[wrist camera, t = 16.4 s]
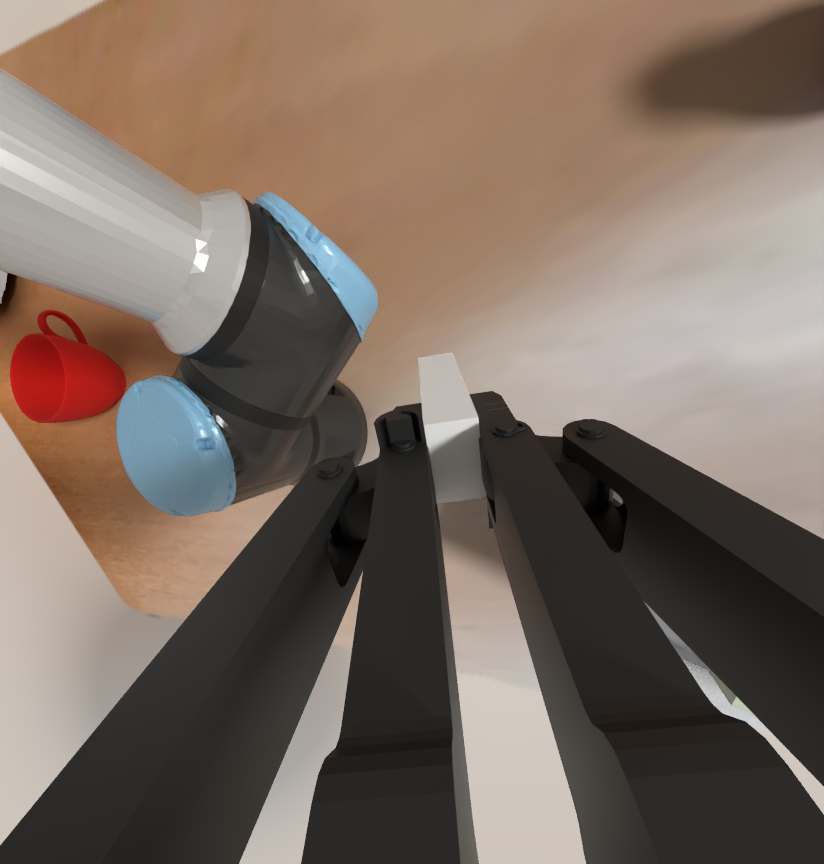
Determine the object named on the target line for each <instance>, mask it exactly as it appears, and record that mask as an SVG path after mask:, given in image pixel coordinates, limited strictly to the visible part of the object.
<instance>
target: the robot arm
mask: <svg viewBox="0 0 824 864" xmlns="http://www.w3.org/2000/svg"><path fill="white" fill-rule="evenodd" d="M0 270H2V271H5V272H7V273H10V274H13V275H16V276H19V277H22V278H25V279H28V280H31V281H33V282H36V283H39V284H42V285H45V286H48V287H51V288H54V289H57V290H60V291H62V292H65V293H68V294H71V295H74V296H77V297H80V298H83V299H86V300H88V301H91V302H94V303H97V304H100V305H103V306H106V307H109V308H112V309H114V310H117V311H120V312H123V313H126V314H129V315H132V316H135V317H138V318H140V319H143V320H146V321H148V322H149V323H150V324H152V325H153V327H154V328H155V330H156V331H157V333H158V335H159V336H160V338H161V339H162V341H163V342H164V344H165V345H166V347H167V348H168V349H169V350H170V351H171V352H173V353H175V354H178V355H181V356H183V357H182V359H181V361H180V363H179V365H178V367H177V369H176V371H175V373H174V375H173V376H172V377H169V376H164V375H156V376H153V377H151V378H146V379H145V380H144V381H138V382H136V383H135V384H133V385H132V386H131V387H130V388H129V389H128V390H127V392H126V393H125V394H124V396H123V398H122V400H121V402H120V405H119V408H118V413H117V419H116V436H117V444H118V449H119V452H120V455H121V458H122V462H123V465H124V468H125V470H126V472H127V474H128V476H129V478H130V480H131V481H132V483H133V485H134V486H135V487H136V489H137V490H138V491H139V492H140V494H141V495H142V496H143V497H144V498H145V499H146V500H147V501H148V502H149V503H151V504H152V505H153V506H155V507H156V508H158V509H159V510H161V511H163V512H165V513H168V514H171V515H175V516H195V515H199V514H203V513H207V512H212V511H221V510H223V509H225V508H227V506H230V505H232V504H235V503H238V502H241V501H244V500H247V499H250V498H253V497H256V496H258V495H261V494H264V493H267V492H270V491H273V490H276V489H279V488H282V487H284V486H287V485H293V486H295V487H294V488H293V489H292V491H291V492H290V493H289V494H288V496H287V497H286V498H285V499H284V500H283V502H282V503H281V504H280V505H279V507H278V508H277V509H276V510H275V511H274V513H273V514H272V515H271V516H270V517H269V519H268V520H267V521H266V522H265V524H264V525H263V526H262V527H261V528H260V530H259V531H258V532H257V533H256V535H255V536H254V537H253V538H252V539H251V541H250V542H249V543H248V544H247V546H246V547H245V548H244V549H243V550H242V552H241V553H240V554H239V555H238V556H237V558H236V559H235V560H234V561H233V563H232V564H231V565H230V566H229V567H228V569H227V570H226V571H225V572H224V574H223V575H222V576H221V577H220V578H219V580H218V581H217V582H216V583H215V585H214V586H213V587H212V588H211V589H210V591H209V592H208V593H207V594H206V595H205V597H204V598H203V599H202V600H201V602H200V603H199V604H198V605H197V606H196V608H195V609H194V610H193V611H192V613H191V614H190V615H189V616H188V617H187V619H186V620H185V621H184V622H183V624H182V625H181V626H180V627H179V628H178V630H177V631H176V632H175V633H174V634H173V636H172V637H171V638H170V639H169V641H168V642H167V643H166V644H165V646H164V647H163V648H162V649H161V650H160V652H159V653H158V654H157V655H156V656H155V658H154V659H153V660H152V661H151V663H150V664H149V665H148V666H147V667H146V669H145V670H144V671H143V672H142V674H141V675H140V676H139V677H138V678H137V680H136V681H135V682H134V683H133V684H132V686H131V687H130V688H129V689H128V691H127V692H126V693H125V694H124V695H123V697H122V698H121V699H120V700H119V702H118V703H117V704H116V705H115V707H114V708H113V709H112V710H111V711H110V712H109V714H108V715H107V716H106V718H105V719H104V720H103V721H102V722H101V724H100V725H99V726H98V727H97V728H96V730H95V731H94V732H93V733H92V735H91V736H90V737H89V738H88V739H87V741H86V742H85V743H84V744H83V745H82V747H81V748H80V749H79V750H78V751H77V753H76V754H75V755H74V756H73V758H72V759H71V760H70V761H69V763H68V764H67V765H66V766H65V767H64V769H63V770H62V771H61V772H60V773H59V775H58V776H57V777H56V778H55V780H54V781H53V782H52V783H51V784H50V786H49V787H48V788H47V789H46V790H45V792H44V793H43V794H42V795H41V797H40V798H39V799H38V800H37V801H36V803H35V804H34V805H33V806H32V808H31V809H30V810H29V811H28V813H27V814H26V815H25V816H24V817H23V819H22V820H21V821H20V822H19V823H18V825H17V826H16V827H15V828H14V829H13V831H12V832H11V833H10V834H9V836H8V837H7V838H6V839H5V840H4V842H3V843H2V844H1V845H0V864H239V862H240V859H241V857H242V855H243V852H244V850H245V847H246V845H247V843H248V840H249V838H250V836H251V833H252V831H253V829H254V826H255V824H256V822H257V819H258V817H259V814H260V812H261V810H262V807H263V805H264V803H265V800H266V798H267V796H268V793H269V791H270V789H271V786H272V784H273V781H274V779H275V777H276V774H277V772H278V769H279V767H280V765H281V762H282V760H283V758H284V755H285V753H286V751H287V748H288V746H289V744H290V741H291V739H292V737H293V734H294V732H295V729H296V727H297V725H298V722H299V720H300V718H301V715H302V713H303V710H304V708H305V706H306V704H307V701H308V699H309V696H310V694H311V692H312V689H313V687H314V685H315V682H316V680H317V678H318V675H319V673H320V670H321V668H322V666H323V663H324V661H325V659H326V656H327V654H328V651H329V649H330V647H331V644H332V642H333V640H334V637H335V635H336V633H337V630H338V628H339V626H340V623H341V621H342V618H343V616H344V614H345V611H346V609H347V607H348V604H349V602H350V600H351V597H352V595H353V592H354V590H355V588H356V585H357V583H358V581H359V578H360V576H361V574H362V571H363V576H362V583H361V590H360V597H359V605H358V612H357V619H356V626H355V633H354V641H353V648H352V655H351V662H350V669H349V676H348V684H347V691H346V698H345V705H344V712H343V720H342V727H341V732H340V737H339V740H338V743H337V746H336V748H335V749H334V750H333V751H332V752H331V753H330V754H329V755H328V756H327V757H326V758H325V760H324V762H323V764H322V767H321V770H320V772H319V775H318V779H317V782H316V787H315V791H314V795H313V800H312V804H311V810H310V816H309V822H308V827H307V833H306V839H305V845H304V851H303V856H302V862H301V864H479V863H478V856H477V849H476V841H475V834H474V827H473V819H472V811H471V801H470V792H469V783H468V774H467V765H466V757H465V747H464V738H463V730H462V721H461V712H460V702H459V693H458V684H457V677H456V676H457V675H456V666H455V658H454V649H453V640H452V631H451V622H450V613H449V604H448V595H447V586H446V577H445V568H444V559H443V550H442V541H441V532H440V523H439V514H438V508H437V504H442V503H449V502H457V501H464V500H472V499H479V498H485V490H486V493H487V504H488V516H489V528H494V531H495V535H496V538H497V541H498V545H499V548H500V552H501V555H502V559H503V562H504V565H505V569H506V572H507V576H508V579H509V582H510V586H511V589H512V593H513V596H514V600H515V603H516V606H517V610H518V613H519V617H520V620H521V624H522V627H523V630H524V634H525V637H526V641H527V644H528V648H529V651H530V654H531V658H532V661H533V665H534V668H535V672H536V675H537V678H538V682H539V685H540V689H541V692H542V696H543V699H544V702H545V706H546V709H547V713H548V716H549V719H550V723H551V726H552V729H553V733H554V737H555V740H556V743H557V747H558V750H559V754H560V757H561V761H562V764H563V767H564V771H565V774H566V778H567V781H568V784H569V788H570V791H571V795H572V798H573V802H574V806H575V809H576V813H577V818H578V822H579V827H580V833H581V838H582V844H583V850H584V855H585V860H586V864H824V815H823V813H822V812H821V811H820V809H819V808H818V806H817V805H816V804H815V802H814V801H813V800H812V798H811V797H810V795H809V794H808V793H807V791H806V790H805V788H804V787H803V786H802V784H801V783H800V781H799V780H798V779H797V778H796V776H795V775H794V773H793V772H792V770H791V769H790V768H789V766H788V765H787V764H786V763H785V761H784V760H783V759H782V758H781V757H780V755H778V753H777V752H776V751H775V749H774V748H773V747H772V746H771V745H770V743H769V742H768V741H767V740H766V739H765V738H764V737H763V736H762V735H761V734H760V733H758V732H757V731H756V730H755V729H754V728H752V727H751V726H750V725H749V724H748V723H746V722H745V721H742V720H739V719H736V718H734V717H731V716H728V715H725V714H723V713H721V712H720V711H719V710H718V709H717V708H716V707H715V706H713V704H712V703H711V702H710V701H709V699H708V698H707V697H706V695H705V694H704V693H703V691H702V690H701V688H700V687H699V685H698V684H697V682H696V680H695V679H694V677H693V676H692V674H691V673H690V671H689V670H688V668H687V667H686V665H685V664H684V662H683V661H682V659H681V657H680V656H679V654H678V653H677V651H676V650H675V648H674V647H673V645H672V644H671V642H670V641H669V639H668V638H667V636H666V635H665V633H664V631H663V630H662V628H661V627H660V625H659V624H658V622H657V621H656V619H655V618H654V616H653V615H652V613H651V612H650V610H649V608H648V607H647V605H648V606H649V607H650V608H651V609H652V610H653V611H654V612H655V613H656V614H657V615H658V616H659V617H660V618H661V619H662V620H663V621H664V622H665V623H666V624H667V625H668V626H669V627H670V628H671V630H672V631H673V632H674V633H675V634H676V635H677V636H678V637H679V638H680V639H681V640H682V641H683V642H684V643H685V644H686V645H687V646H688V647H689V648H690V649H691V650H692V651H693V652H694V653H695V654H696V655H697V656H698V657H699V658H700V659H701V660H702V661H703V662H704V663H705V665H706V666H707V667H708V668H709V669H710V670H711V671H712V672H713V673H714V674H715V675H716V676H717V677H718V678H719V679H720V680H721V681H722V682H723V683H724V684H725V685H726V686H727V687H728V688H729V689H730V690H731V691H732V692H733V693H734V694H735V695H736V696H737V697H738V698H739V700H740V701H741V702H742V703H743V704H744V705H745V706H746V707H747V708H748V709H749V710H750V711H751V712H752V713H753V714H754V715H755V716H756V717H757V718H758V719H759V720H760V721H761V722H762V723H763V724H764V725H765V726H766V727H767V728H768V729H769V730H770V731H771V732H772V733H773V735H774V736H775V737H776V738H777V739H779V741H780V742H781V743H782V744H783V745H784V746H785V747H786V748H787V749H788V750H789V751H790V752H791V753H792V754H793V755H794V756H795V757H796V758H797V759H798V760H799V761H800V762H801V763H802V764H803V765H804V766H805V767H806V768H807V770H808V771H810V773H811V774H812V775H814V777H815V778H816V779H817V780H818V781H819V782H820V783H821V784H822V785H823V786H824V539H822V538H820V537H818V536H816V535H815V534H813V533H811V532H809V531H807V530H805V529H804V528H802V527H800V526H798V525H796V524H794V523H793V522H791V521H789V520H787V519H785V518H783V517H782V516H780V515H778V514H776V513H774V512H772V511H771V510H769V509H767V508H765V507H763V506H761V505H759V504H758V503H756V502H754V501H752V500H750V499H748V498H747V497H745V496H743V495H741V494H739V493H737V492H736V491H734V490H732V489H730V488H728V487H726V486H725V485H723V484H721V483H719V482H717V481H715V480H714V479H712V478H710V477H708V476H706V475H704V474H703V473H701V472H699V471H697V470H695V469H693V468H692V467H690V466H688V465H686V464H684V463H682V462H681V461H679V460H677V459H675V458H673V457H671V456H670V455H668V454H666V453H664V452H662V451H660V450H659V449H657V448H655V447H653V446H651V445H649V444H648V443H646V442H644V441H642V440H640V439H638V438H637V437H635V436H633V435H631V434H629V433H627V432H626V431H624V430H622V429H620V428H618V427H616V426H614V425H612V424H610V423H607V422H604V421H598V420H595V419H589V420H588V419H583V420H579V421H574V422H571V423H569V424H567V425H566V426H565V427H564V428H563V437H549V436H538V435H535V434H534V432H533V431H532V429H531V428H530V427H529V426H528V425H527V424H526V423H524V422H521V421H518V420H516V419H515V418H514V416H513V414H512V413H511V411H510V410H509V408H508V406H507V405H506V403H505V401H504V400H503V398H502V396H501V395H499V394H497V393H495V392H493V391H489V392H483V393H476V394H470V395H469V392H468V390H467V387H466V385H465V382H464V380H463V377H462V375H461V372H460V370H459V367H458V365H457V362H456V360H455V357H454V355H453V352H451V353H445V354H438V355H432V356H426V357H420V358H418V363H419V377H420V390H421V403H418V404H411V405H405V406H398V407H396V408H395V409H394V410H393V411H390V412H388V413H385V414H383V415H381V416H380V417H378V418H377V419H376V421H375V422H374V425H375V430H376V434H377V438H378V442H379V446H380V454H379V457H378V458H377V459H375V460H373V461H371V462H369V463H366V464H364V465H361V466H358V464H359V463H360V461H361V459H362V457H363V454H364V451H365V448H366V443H367V422H366V417H365V414H364V411H363V408H362V406H361V404H360V402H359V400H358V399H357V397H356V396H355V395H354V393H353V392H352V391H351V390H350V389H349V388H348V387H347V386H345V385H344V384H343V383H341V382H339V381H338V380H336V379H337V378H338V376H339V374H340V373H341V371H342V370H343V368H344V367H345V365H346V363H347V362H348V360H349V359H350V357H351V356H352V354H353V352H354V351H355V349H356V348H357V346H358V345H359V343H361V342H362V341H363V338H364V333H365V331H366V329H367V328H368V326H369V324H370V322H371V320H372V319H373V317H374V315H375V313H376V311H377V308H378V294H377V291H376V288H375V287H374V285H373V284H372V282H371V281H370V280H369V278H368V277H367V276H366V275H365V274H364V273H363V271H362V270H361V269H360V268H359V267H358V266H357V265H356V264H355V263H354V262H353V261H352V260H351V259H350V258H349V257H348V256H347V255H346V254H345V253H344V252H343V251H342V250H341V249H340V248H339V247H338V246H337V245H336V244H335V243H333V242H332V241H331V240H330V239H329V238H328V237H327V236H326V235H324V234H323V233H321V232H319V231H318V229H317V228H316V227H315V226H314V225H313V224H311V223H310V222H309V221H308V220H307V219H306V217H304V216H303V215H302V214H301V213H300V212H298V211H297V210H296V209H295V208H294V207H292V206H291V205H290V204H289V203H287V202H286V201H285V200H283V199H282V198H280V197H279V196H277V195H275V194H273V193H271V192H264V193H263V194H262V195H261V196H260V197H257V198H255V201H254V203H253V204H252V203H250V202H249V201H247V200H246V199H245V198H243V197H242V196H240V195H239V194H238V193H236V192H234V191H233V190H229V189H223V190H218V191H213V192H208V193H203V194H195V193H193V192H191V191H190V190H188V189H187V188H185V187H184V186H182V185H180V184H179V183H177V182H176V181H174V180H173V179H171V178H170V177H168V176H167V175H165V174H163V173H162V172H160V171H159V170H157V169H156V168H154V167H153V166H151V165H150V164H148V163H147V162H145V161H143V160H142V159H140V158H139V157H137V156H136V155H134V154H133V153H131V152H130V151H128V150H126V149H125V148H123V147H122V146H120V145H119V144H117V143H116V142H114V141H113V140H111V139H109V138H108V137H106V136H105V135H103V134H102V133H100V132H99V131H97V130H96V129H94V128H93V127H91V126H89V125H88V124H86V123H85V122H83V121H82V120H80V119H79V118H77V117H76V116H74V115H72V114H71V113H69V112H68V111H66V110H65V109H63V108H62V107H60V106H59V105H57V104H55V103H54V102H52V101H51V100H49V99H48V98H46V97H45V96H43V95H42V94H40V93H39V92H37V91H35V90H34V89H32V88H31V87H29V86H28V85H26V84H25V83H23V82H22V81H20V80H18V79H17V78H15V77H14V76H12V75H11V74H9V73H8V72H6V71H5V70H3V69H1V68H0ZM357 466H358V467H357ZM484 487H485V488H484ZM614 491H615V492H616V493H617V494H618V495H619V496H620V497H621V498H622V500H623V503H620V502H618V501H617V500H616V499H615V498H613V495H614ZM645 603H646V604H647V605H646V604H645Z"/></svg>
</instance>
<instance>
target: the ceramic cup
mask: <svg viewBox="0 0 824 864" xmlns="http://www.w3.org/2000/svg"><path fill="white" fill-rule="evenodd" d="M48 315H54V316H56V317H58V318H60V319H62V320H63V321H64V322H66V323H67V324H68V325H69V326H70V328H71V329H72V331H73V332H74V334H75V336H76V338H77V340H78V342H76V341H73V340H69V339H65V338H63V337H61V336H59V335H57V334H55V333H54V332H53V331H52V330H51V329H50V328H49V327H48V325H47V322H46V317H47V316H48ZM37 320H38V325H39V327H40V329H41V331H42V332H43V333H44V334H30V335H27V336H25V337H24V338H23V339H22V340H21V341H20V342H19V343H18V344H17V346H16V348H15V350H14V353H13V356H12V360H11V367H10V379H11V386H12V391H13V394H14V397H15V400H16V402H17V404H18V406H19V407H20V409H21V410H22V412H23V413H24V414H25V415H26V416H27V417H28V418H30V419H31V420H33V421H36V422H39V423H56V422H65V421H73V420H79V419H84V418H88V417H91V416H94V415H97V414H100V413H102V412H103V411H105V410H107V409H108V408H110V407H111V406H112V405H114V404H115V403H116V402H117V401H118V400H120V399H121V398H122V396H123V394H124V392H125V387H126V380H125V376H124V373H123V371H122V369H121V368H120V367H119V366H118V365H117V364H116V363H115V362H114V361H112V360H111V359H110V358H109V357H108V356H107V355H105V354H104V353H102V352H101V351H99V350H97V349H95V348H93V347H91V346H89V345H88V344H87V341H86V339H85V337H84V335H83V333H82V332H81V330H80V328H79V327H78V326H77V324H76V323H75V322H74V321H73V320H72V319H71V318H69V317H68V316H67V315H65V314H63V313H61V312H58V311H54V310H46V311H43V312H41V313H40V314H39V316H38V319H37Z"/></svg>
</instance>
